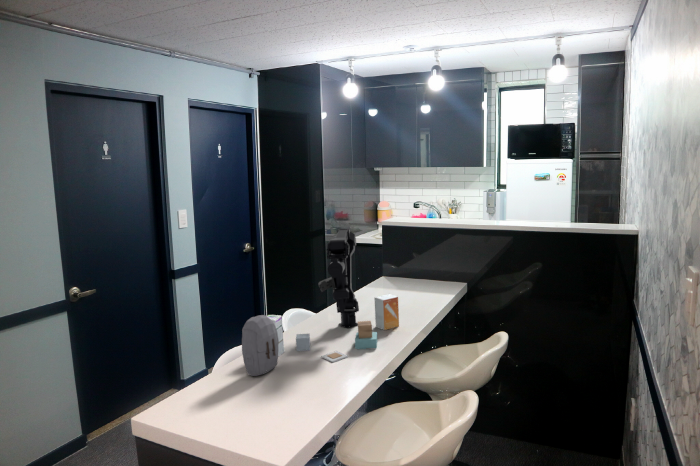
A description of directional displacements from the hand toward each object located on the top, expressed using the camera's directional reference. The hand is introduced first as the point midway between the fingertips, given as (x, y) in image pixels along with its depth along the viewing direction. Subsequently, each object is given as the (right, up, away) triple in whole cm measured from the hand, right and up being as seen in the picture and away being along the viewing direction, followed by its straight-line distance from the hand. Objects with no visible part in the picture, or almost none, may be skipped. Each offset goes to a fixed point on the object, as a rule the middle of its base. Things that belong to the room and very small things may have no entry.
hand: (341, 309), depth 203 cm
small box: (+19, -9, +14) cm, 25 cm away
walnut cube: (+9, -9, -7) cm, 14 cm away
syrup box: (-25, -15, -11) cm, 31 cm away
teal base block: (+10, -13, -6) cm, 17 cm away
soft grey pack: (-26, -18, -27) cm, 41 cm away
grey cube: (-15, -14, -6) cm, 21 cm away
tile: (-2, -15, -17) cm, 23 cm away
